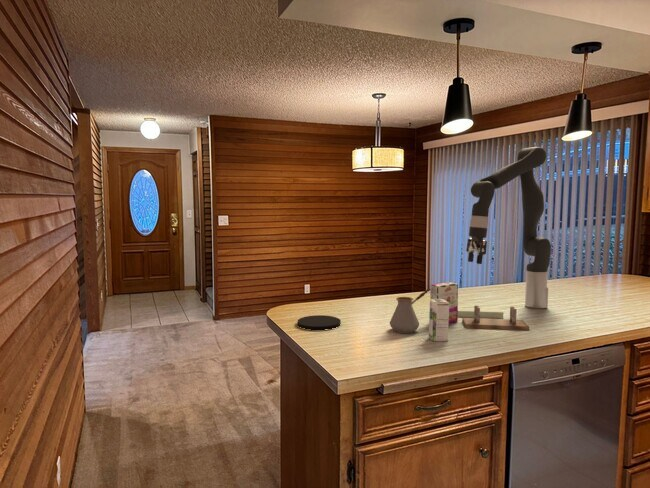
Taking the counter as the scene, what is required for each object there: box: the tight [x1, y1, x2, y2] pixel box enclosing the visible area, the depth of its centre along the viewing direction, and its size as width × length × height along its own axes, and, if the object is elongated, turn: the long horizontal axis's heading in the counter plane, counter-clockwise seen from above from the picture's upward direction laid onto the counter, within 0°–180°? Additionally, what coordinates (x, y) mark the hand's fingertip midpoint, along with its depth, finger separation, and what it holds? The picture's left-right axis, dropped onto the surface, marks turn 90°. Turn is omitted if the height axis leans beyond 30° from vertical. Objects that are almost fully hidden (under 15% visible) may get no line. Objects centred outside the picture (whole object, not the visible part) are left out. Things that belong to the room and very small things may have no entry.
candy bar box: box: [429, 281, 459, 324], centre depth 190 cm, size 11×5×16 cm, turn 117°
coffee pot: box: [389, 288, 432, 334], centre depth 181 cm, size 21×12×15 cm, turn 128°
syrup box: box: [428, 299, 450, 342], centre depth 167 cm, size 6×6×14 cm
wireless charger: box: [297, 314, 342, 331], centre depth 188 cm, size 18×18×2 cm
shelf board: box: [458, 307, 504, 319], centre depth 201 cm, size 20×6×3 cm, turn 81°
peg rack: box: [462, 305, 530, 331], centre depth 185 cm, size 24×10×8 cm, turn 80°
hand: (474, 262), depth 203 cm, fingers open, 8 cm apart
